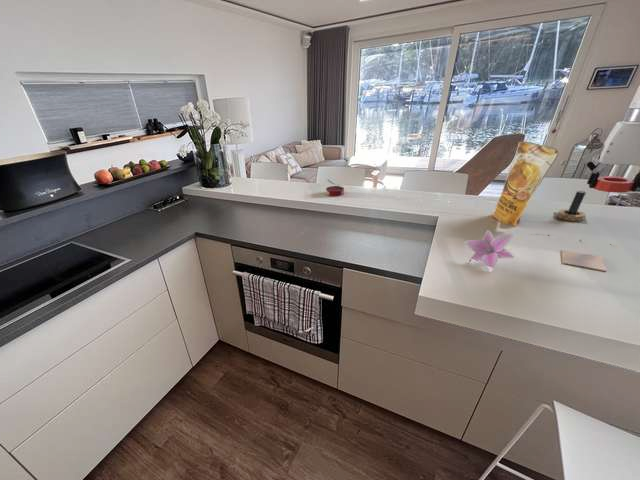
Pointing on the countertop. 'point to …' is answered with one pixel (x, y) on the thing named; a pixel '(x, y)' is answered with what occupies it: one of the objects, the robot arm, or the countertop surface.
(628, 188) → the top ring
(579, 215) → the bottom ring
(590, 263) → the cork mat
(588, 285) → the countertop surface
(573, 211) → the post stand
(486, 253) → the lily
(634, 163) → the robot arm
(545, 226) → the countertop surface
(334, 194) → the red bowl with spoon
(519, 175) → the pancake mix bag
